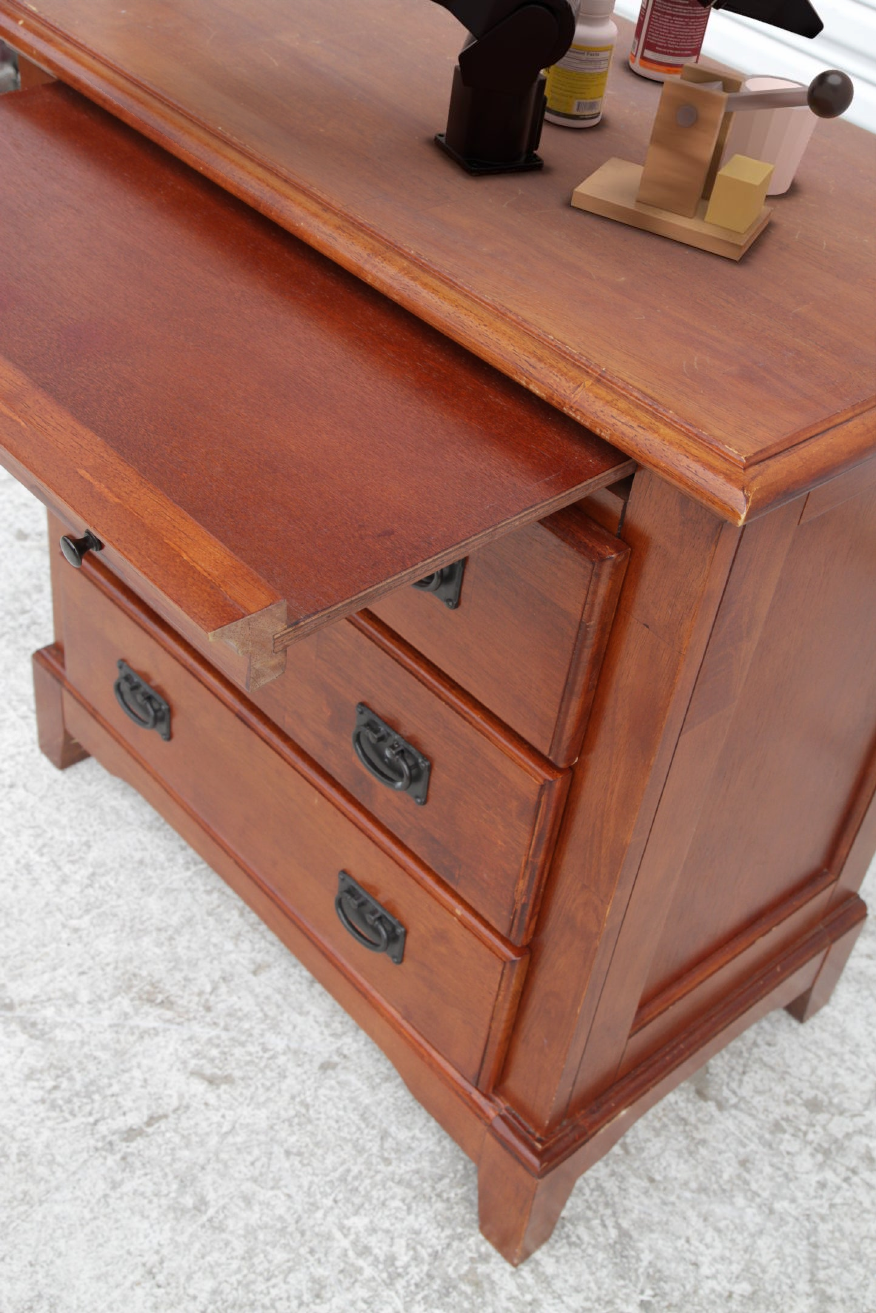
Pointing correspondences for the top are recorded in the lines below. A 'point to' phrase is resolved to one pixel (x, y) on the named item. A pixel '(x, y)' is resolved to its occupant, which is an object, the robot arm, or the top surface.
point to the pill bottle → (668, 37)
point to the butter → (739, 193)
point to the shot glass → (772, 133)
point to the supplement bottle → (583, 69)
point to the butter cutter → (676, 168)
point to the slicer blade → (797, 96)
